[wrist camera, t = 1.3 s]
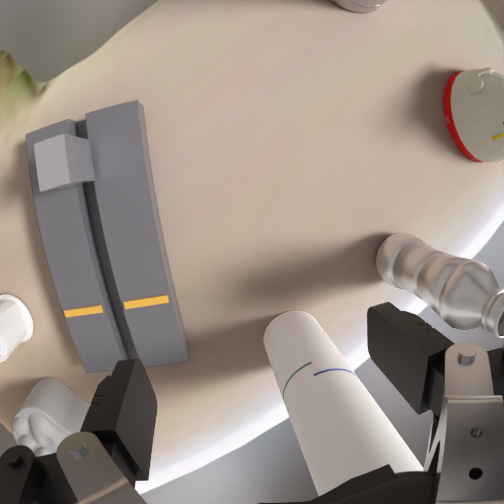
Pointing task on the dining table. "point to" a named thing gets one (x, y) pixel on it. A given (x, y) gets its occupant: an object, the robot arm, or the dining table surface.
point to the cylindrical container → (330, 406)
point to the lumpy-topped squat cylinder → (48, 416)
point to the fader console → (110, 246)
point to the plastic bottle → (444, 283)
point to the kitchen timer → (476, 113)
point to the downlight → (13, 324)
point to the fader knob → (63, 162)
